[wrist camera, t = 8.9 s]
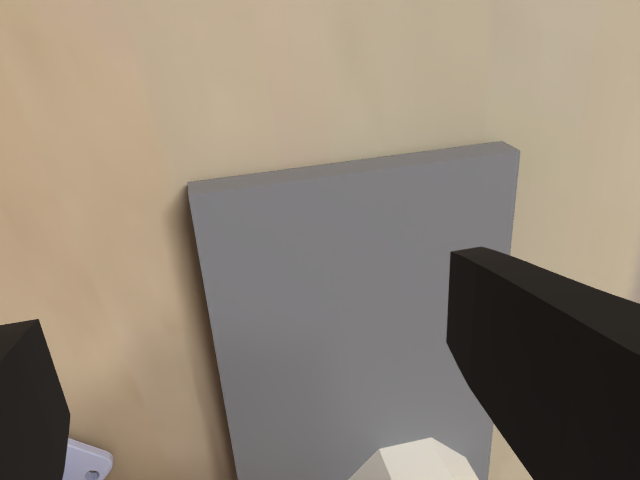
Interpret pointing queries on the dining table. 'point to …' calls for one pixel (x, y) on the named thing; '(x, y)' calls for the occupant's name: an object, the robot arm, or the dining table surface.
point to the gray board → (347, 305)
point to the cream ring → (416, 463)
